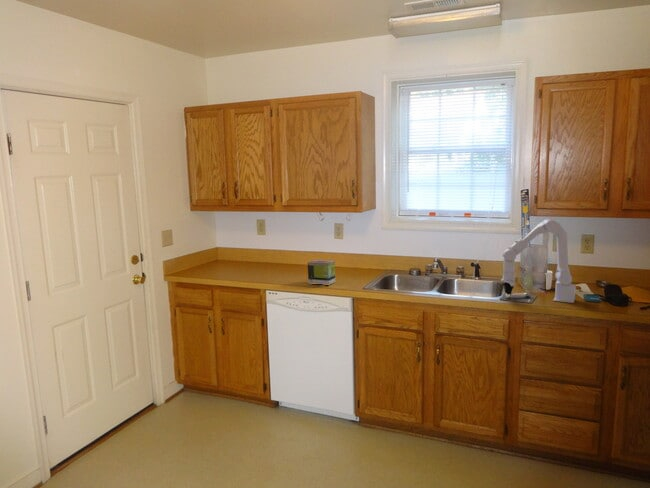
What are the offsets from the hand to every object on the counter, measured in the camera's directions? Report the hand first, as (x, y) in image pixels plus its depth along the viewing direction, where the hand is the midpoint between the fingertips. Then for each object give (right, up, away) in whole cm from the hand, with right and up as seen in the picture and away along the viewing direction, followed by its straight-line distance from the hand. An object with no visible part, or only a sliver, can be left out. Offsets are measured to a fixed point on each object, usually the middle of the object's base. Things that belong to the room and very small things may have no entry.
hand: (508, 295), depth 258 cm
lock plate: (+6, -1, 0) cm, 6 cm away
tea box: (-102, +2, +48) cm, 112 cm away
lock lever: (+5, -1, -1) cm, 5 cm away
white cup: (+28, +2, +18) cm, 34 cm away
